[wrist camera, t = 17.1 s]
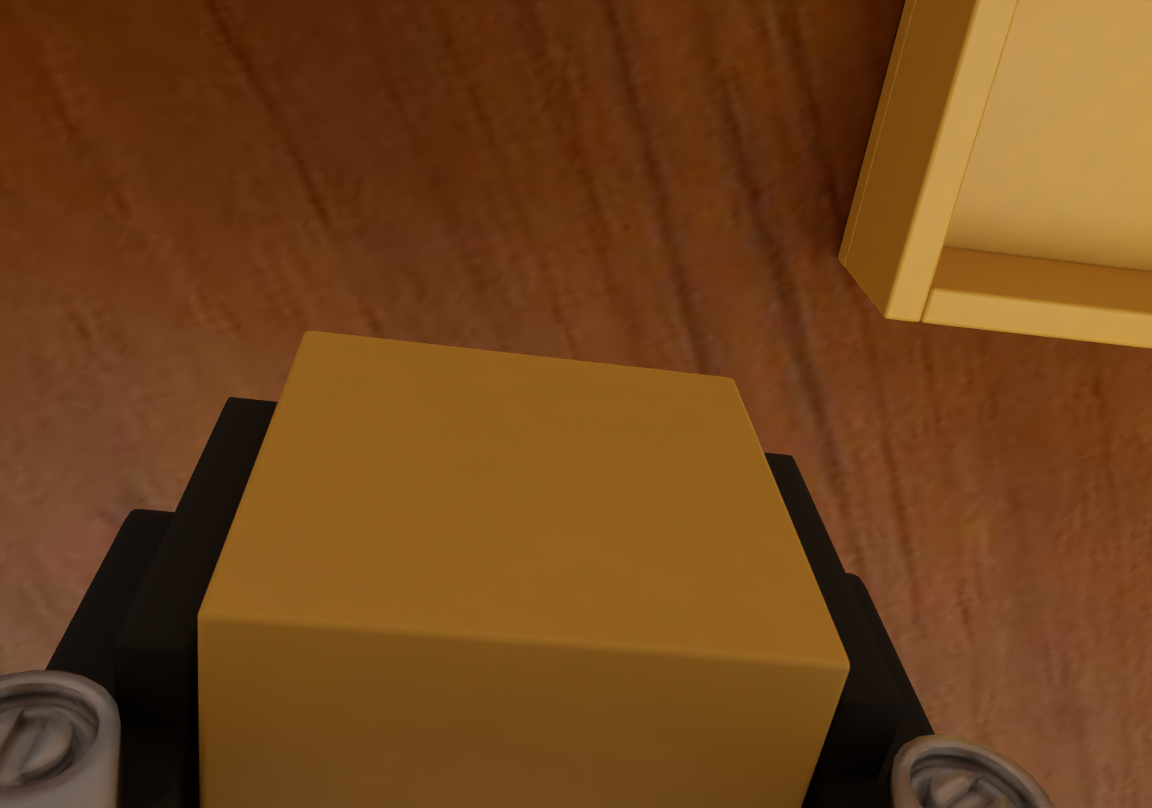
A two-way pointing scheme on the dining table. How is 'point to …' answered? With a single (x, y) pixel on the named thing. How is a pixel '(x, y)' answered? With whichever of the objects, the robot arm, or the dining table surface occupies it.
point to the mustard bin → (1012, 171)
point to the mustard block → (510, 594)
